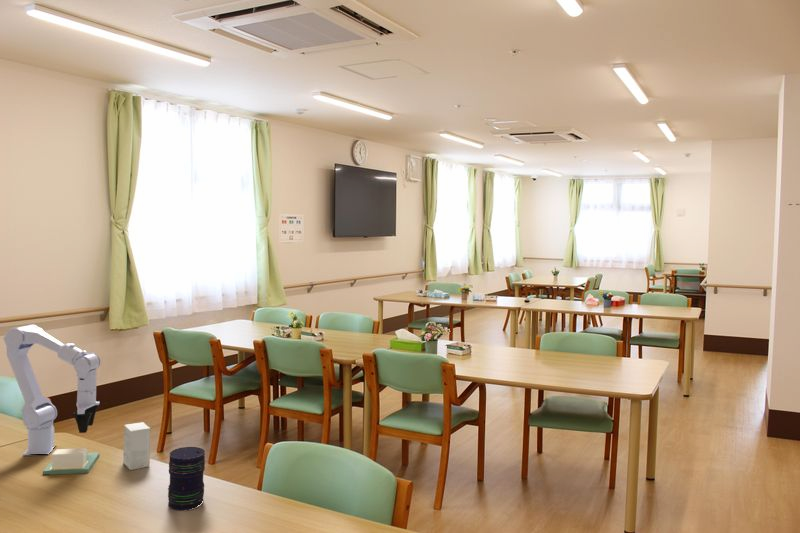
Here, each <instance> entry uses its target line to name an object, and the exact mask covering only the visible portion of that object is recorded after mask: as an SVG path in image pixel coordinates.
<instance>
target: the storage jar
mask: <svg viewBox="0 0 800 533" xmlns="http://www.w3.org/2000/svg"><path fill="white" fill-rule="evenodd" d="M205 454H206V450H205V449H204V448H201V447H198V446H185V447H178V448H176V449H173V450H172V451H170V452H169V459H168V460H169V462H168V468H169V469H168V474H169V484H168V487H167V497H168V500H167V501H168V504H167V505H168V508H170V510H173V511H179V512H182V511H183V512H184V511H185V510H186V511H190V510H189V509H192V508H195V507H197V506H198V505H200V504H201V503H202V501H203V502H204V494H205V483H204V472H205V468H206V467H205V465H206V459H205V456H206V455H205ZM195 509H196V508H195ZM192 510H193V509H192ZM186 511H185V512H186Z"/></svg>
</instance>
